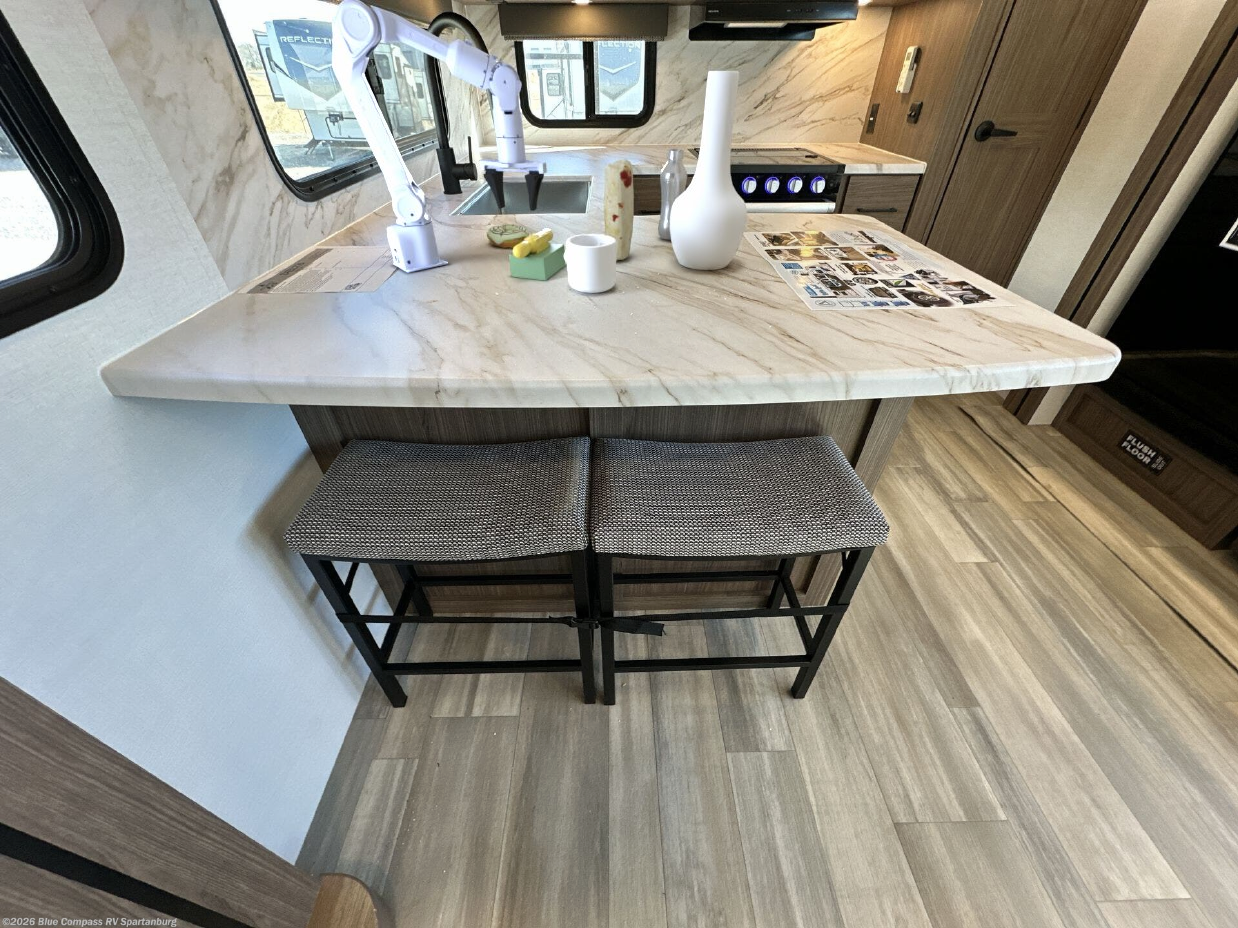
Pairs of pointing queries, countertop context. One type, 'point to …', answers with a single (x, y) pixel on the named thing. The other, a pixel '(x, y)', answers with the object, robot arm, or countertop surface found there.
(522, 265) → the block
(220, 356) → the countertop surface
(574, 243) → the mug
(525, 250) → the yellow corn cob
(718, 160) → the vase
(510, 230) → the decorated donut
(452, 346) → the countertop surface
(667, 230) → the plastic bottle
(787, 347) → the countertop surface
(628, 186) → the food model
